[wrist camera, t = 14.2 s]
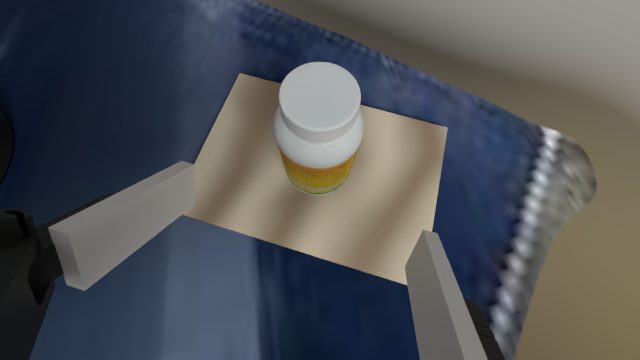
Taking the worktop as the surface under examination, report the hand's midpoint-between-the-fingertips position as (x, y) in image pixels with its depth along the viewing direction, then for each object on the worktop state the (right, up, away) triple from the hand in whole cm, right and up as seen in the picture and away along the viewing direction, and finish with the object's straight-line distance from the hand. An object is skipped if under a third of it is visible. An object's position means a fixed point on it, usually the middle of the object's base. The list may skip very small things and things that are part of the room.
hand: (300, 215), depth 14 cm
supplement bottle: (+1, +3, +7) cm, 8 cm away
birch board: (+1, +3, +8) cm, 8 cm away
